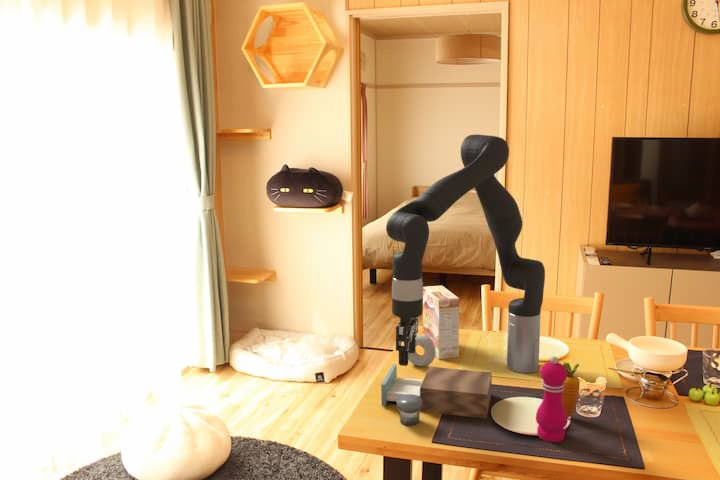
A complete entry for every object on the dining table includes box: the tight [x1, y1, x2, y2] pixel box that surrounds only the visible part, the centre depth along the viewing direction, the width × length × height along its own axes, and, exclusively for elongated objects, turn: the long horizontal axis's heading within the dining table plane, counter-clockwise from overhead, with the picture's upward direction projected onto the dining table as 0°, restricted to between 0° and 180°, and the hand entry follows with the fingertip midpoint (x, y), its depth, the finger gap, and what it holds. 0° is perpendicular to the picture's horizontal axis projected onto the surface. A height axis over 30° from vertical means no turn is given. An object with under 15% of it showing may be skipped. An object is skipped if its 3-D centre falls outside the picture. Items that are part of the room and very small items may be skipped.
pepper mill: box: [535, 356, 569, 443], centre depth 153 cm, size 7×7×20 cm
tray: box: [380, 363, 424, 407], centre depth 174 cm, size 17×14×6 cm
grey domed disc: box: [396, 394, 423, 413], centre depth 162 cm, size 6×6×2 cm
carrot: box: [561, 361, 581, 418], centre depth 161 cm, size 5×5×15 cm
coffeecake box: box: [422, 284, 460, 360], centre depth 207 cm, size 15×7×20 cm, turn 14°
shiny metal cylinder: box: [399, 410, 420, 427], centre depth 162 cm, size 5×5×4 cm
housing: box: [419, 366, 493, 419], centre depth 172 cm, size 17×14×6 cm
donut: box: [408, 333, 436, 367], centre depth 196 cm, size 10×4×10 cm, turn 61°
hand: (407, 358), depth 160 cm, fingers open, 8 cm apart
